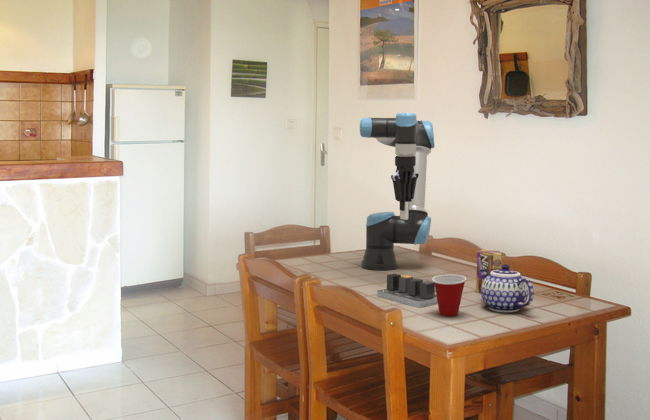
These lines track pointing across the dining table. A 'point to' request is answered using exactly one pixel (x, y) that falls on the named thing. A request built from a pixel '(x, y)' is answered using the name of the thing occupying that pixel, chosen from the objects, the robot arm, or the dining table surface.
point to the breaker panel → (406, 299)
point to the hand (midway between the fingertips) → (404, 219)
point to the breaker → (404, 283)
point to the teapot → (505, 290)
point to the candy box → (486, 264)
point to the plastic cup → (449, 293)
